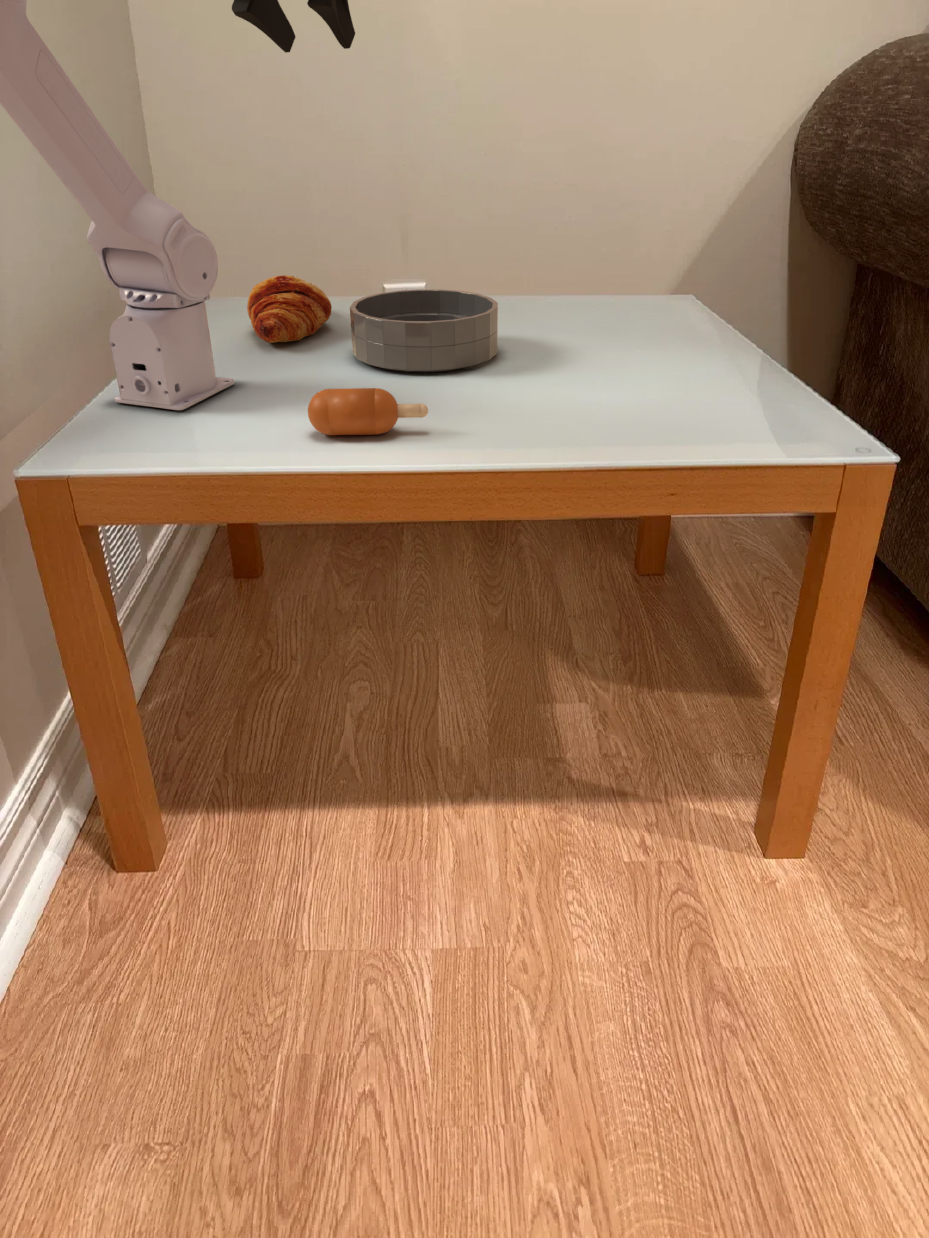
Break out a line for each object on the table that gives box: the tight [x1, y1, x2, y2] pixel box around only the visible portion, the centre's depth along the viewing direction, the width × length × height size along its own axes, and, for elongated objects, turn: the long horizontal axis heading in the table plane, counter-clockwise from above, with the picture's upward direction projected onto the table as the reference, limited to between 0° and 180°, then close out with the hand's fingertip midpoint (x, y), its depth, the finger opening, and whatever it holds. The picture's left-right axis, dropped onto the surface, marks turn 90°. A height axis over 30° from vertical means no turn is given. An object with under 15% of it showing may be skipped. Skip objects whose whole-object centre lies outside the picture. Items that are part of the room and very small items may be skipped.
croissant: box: [246, 274, 333, 344], centre depth 113 cm, size 21×10×8 cm, turn 178°
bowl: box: [349, 288, 499, 373], centre depth 103 cm, size 16×16×6 cm
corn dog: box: [307, 387, 429, 436], centre depth 81 cm, size 11×4×4 cm, turn 92°
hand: (319, 43), depth 98 cm, fingers open, 7 cm apart
